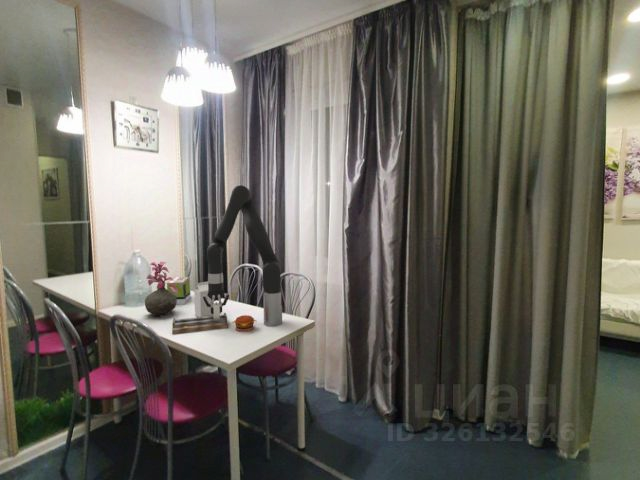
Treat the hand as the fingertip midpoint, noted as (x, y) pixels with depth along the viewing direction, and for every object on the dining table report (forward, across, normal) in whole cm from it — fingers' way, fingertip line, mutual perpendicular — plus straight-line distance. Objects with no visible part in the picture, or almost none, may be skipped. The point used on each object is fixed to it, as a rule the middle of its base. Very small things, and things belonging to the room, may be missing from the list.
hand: (216, 313), depth 173 cm
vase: (+6, +28, -26) cm, 39 cm away
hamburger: (+6, -13, +11) cm, 18 cm away
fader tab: (+4, 0, 0) cm, 4 cm away
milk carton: (+6, +6, -17) cm, 19 cm away
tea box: (+6, +20, -49) cm, 53 cm away
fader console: (+6, +8, 0) cm, 10 cm away
